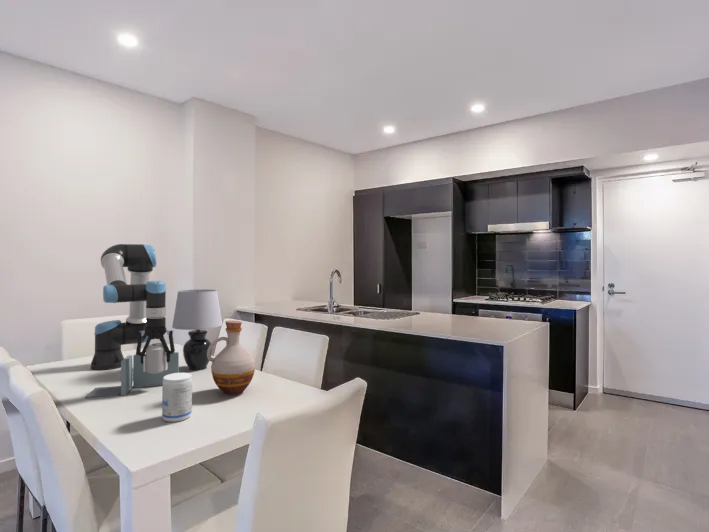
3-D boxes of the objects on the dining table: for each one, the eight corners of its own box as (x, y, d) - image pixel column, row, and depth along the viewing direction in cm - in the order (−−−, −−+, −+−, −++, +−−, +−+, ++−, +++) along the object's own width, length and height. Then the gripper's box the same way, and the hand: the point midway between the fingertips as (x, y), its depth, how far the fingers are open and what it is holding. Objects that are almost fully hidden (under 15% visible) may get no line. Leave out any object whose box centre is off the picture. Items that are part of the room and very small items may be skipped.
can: (157, 375, 167) (157, 346, 167) (141, 373, 169) (141, 345, 169) (169, 370, 175) (169, 342, 174) (153, 368, 176) (154, 341, 176)
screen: (129, 386, 176) (128, 354, 176) (178, 382, 181) (178, 352, 181) (121, 395, 164) (121, 361, 163) (174, 391, 169) (174, 358, 169)
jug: (209, 402, 156) (209, 325, 156) (203, 389, 172) (204, 319, 172) (259, 395, 165) (260, 322, 165) (250, 383, 181) (250, 317, 181)
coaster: (95, 389, 172) (95, 387, 172) (126, 386, 175) (126, 385, 175) (85, 398, 161) (85, 396, 161) (119, 395, 164) (119, 394, 164)
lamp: (228, 370, 203) (228, 291, 202) (177, 377, 189) (177, 293, 189) (215, 360, 223) (215, 288, 222) (168, 366, 209) (168, 290, 209)
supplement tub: (157, 417, 141) (157, 376, 141) (183, 410, 148) (183, 370, 148) (170, 425, 135) (170, 381, 135) (197, 417, 142) (197, 375, 142)
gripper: (126, 319, 165) (126, 374, 165) (180, 317, 170) (180, 371, 171) (131, 316, 172) (131, 369, 173) (182, 315, 178) (182, 366, 178)
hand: (155, 370), depth 172 cm, fingers closed on can, 7 cm apart
